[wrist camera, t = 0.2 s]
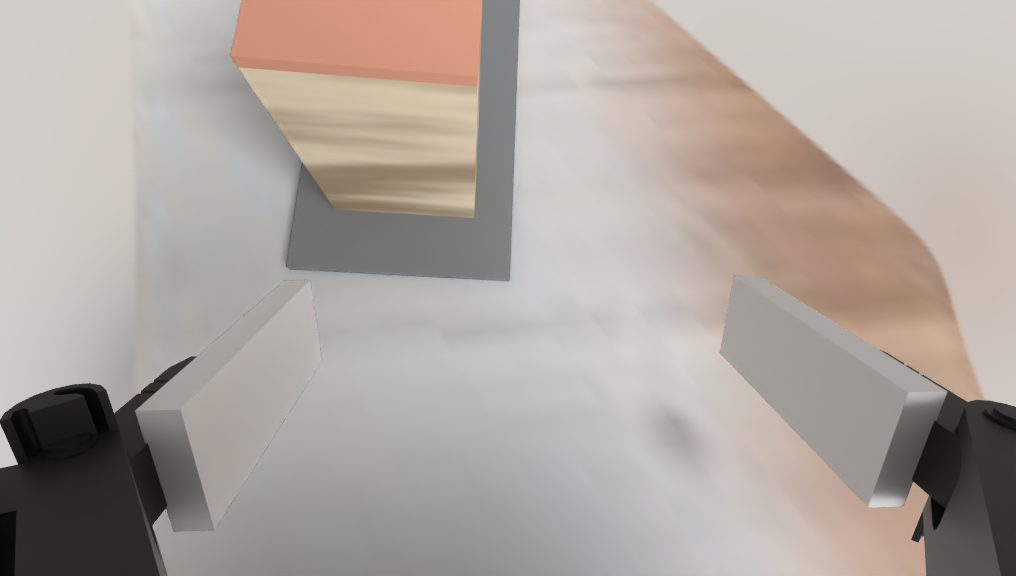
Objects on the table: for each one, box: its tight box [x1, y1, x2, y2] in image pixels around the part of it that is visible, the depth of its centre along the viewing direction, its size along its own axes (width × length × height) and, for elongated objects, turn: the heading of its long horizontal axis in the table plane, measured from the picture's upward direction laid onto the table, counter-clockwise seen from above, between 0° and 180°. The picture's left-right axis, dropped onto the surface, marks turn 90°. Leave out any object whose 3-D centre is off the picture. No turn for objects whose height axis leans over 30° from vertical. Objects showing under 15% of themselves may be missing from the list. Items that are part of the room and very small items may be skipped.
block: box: [230, 0, 482, 218], centre depth 25 cm, size 4×9×14 cm, turn 88°
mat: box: [286, 0, 520, 281], centre depth 34 cm, size 26×14×1 cm, turn 178°
